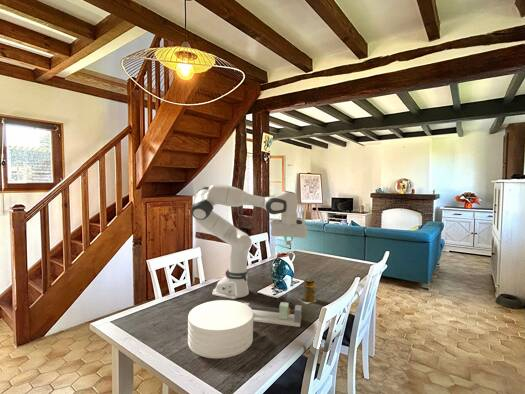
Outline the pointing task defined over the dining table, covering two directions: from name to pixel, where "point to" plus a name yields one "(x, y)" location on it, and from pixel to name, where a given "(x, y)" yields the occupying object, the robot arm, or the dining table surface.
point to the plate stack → (220, 328)
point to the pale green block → (283, 310)
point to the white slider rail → (276, 315)
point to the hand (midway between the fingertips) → (288, 244)
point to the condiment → (308, 292)
